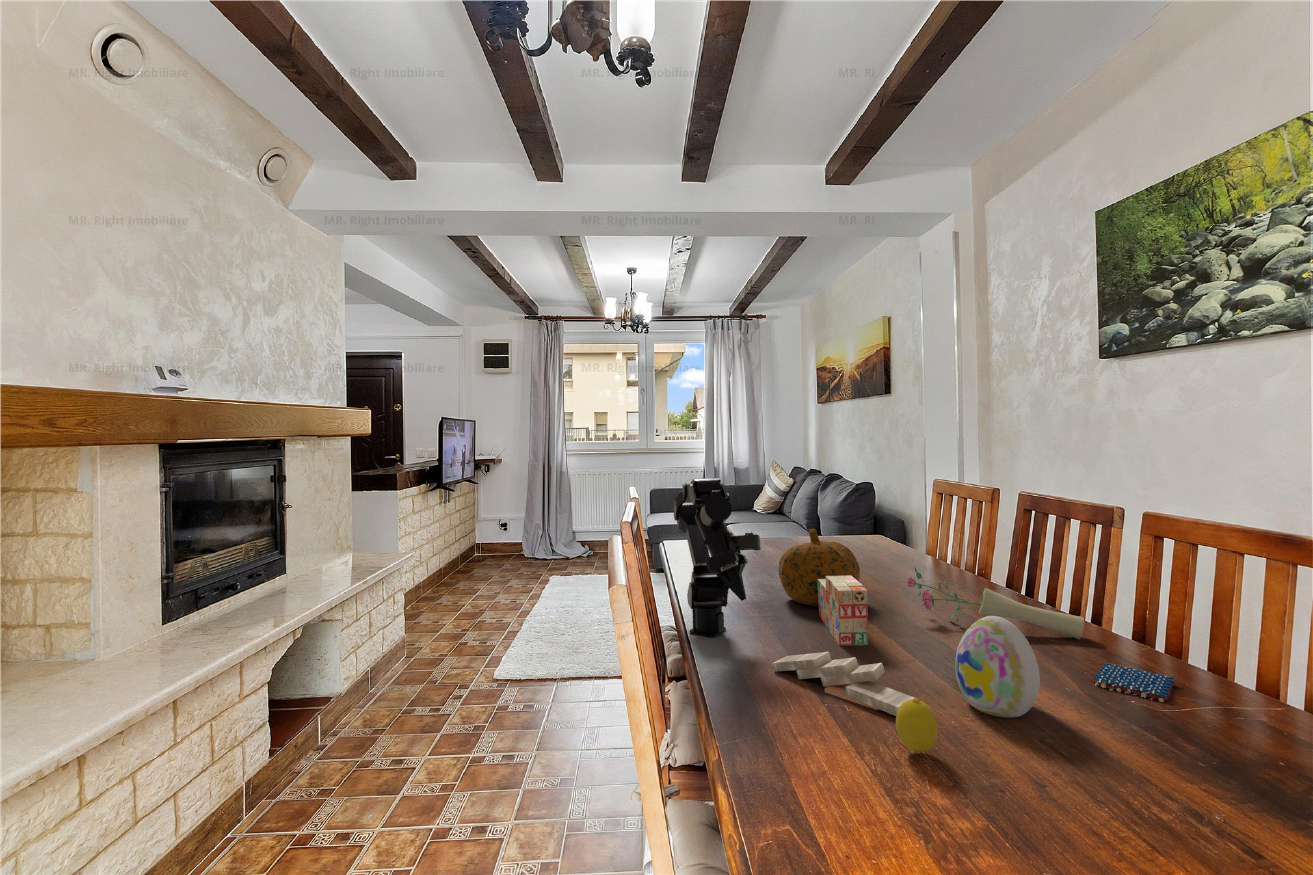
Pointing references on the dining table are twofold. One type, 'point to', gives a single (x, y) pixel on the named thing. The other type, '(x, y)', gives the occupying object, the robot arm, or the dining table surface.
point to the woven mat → (1134, 682)
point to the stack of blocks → (844, 609)
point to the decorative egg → (997, 668)
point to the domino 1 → (802, 661)
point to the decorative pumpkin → (814, 567)
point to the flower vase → (1010, 610)
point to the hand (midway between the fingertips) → (744, 599)
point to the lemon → (916, 725)
